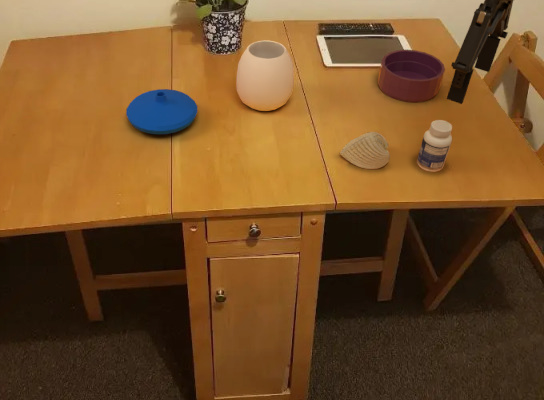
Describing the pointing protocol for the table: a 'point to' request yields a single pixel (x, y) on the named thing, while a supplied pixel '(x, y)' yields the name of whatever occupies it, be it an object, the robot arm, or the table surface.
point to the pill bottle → (435, 146)
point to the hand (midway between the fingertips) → (468, 84)
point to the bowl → (410, 75)
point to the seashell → (367, 151)
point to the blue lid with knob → (162, 111)
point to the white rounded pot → (265, 75)
